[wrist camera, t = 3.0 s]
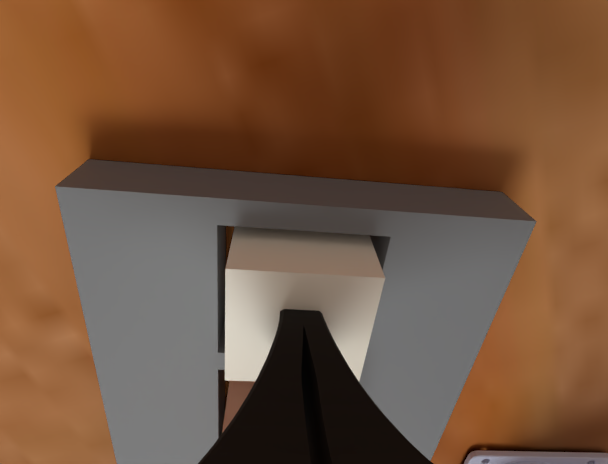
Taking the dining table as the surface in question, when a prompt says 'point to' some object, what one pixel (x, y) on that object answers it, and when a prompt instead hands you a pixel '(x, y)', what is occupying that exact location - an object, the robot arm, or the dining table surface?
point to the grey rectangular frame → (211, 290)
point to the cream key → (298, 292)
